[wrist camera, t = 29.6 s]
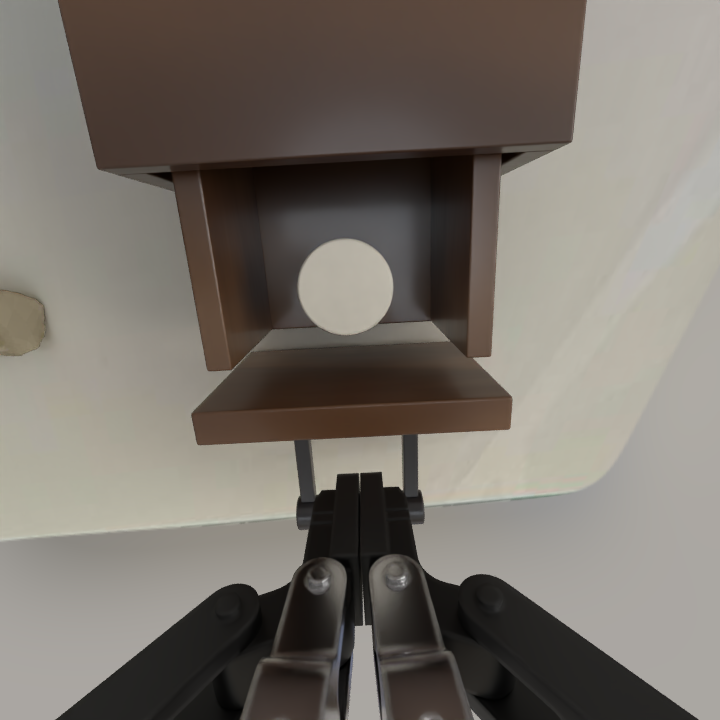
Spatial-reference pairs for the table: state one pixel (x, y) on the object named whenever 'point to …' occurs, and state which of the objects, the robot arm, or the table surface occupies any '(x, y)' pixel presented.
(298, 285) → the glue stick
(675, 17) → the table surface
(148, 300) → the table surface
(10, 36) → the table surface
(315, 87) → the cabinet
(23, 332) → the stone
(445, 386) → the drawer
